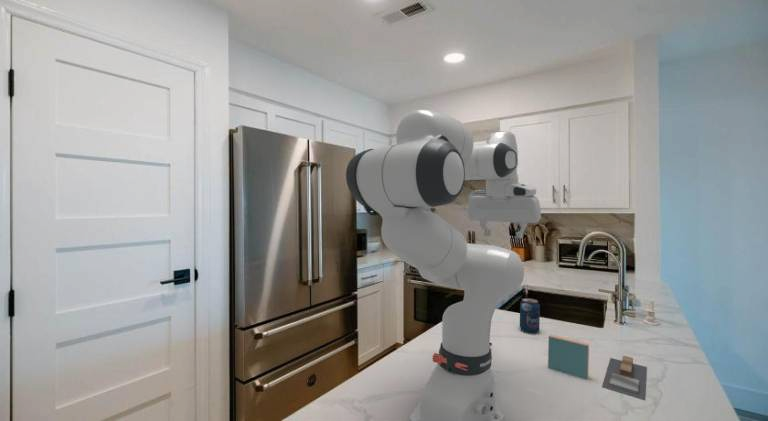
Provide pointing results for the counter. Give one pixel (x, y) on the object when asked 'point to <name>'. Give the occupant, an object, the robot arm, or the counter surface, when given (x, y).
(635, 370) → the mat
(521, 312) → the soda can
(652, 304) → the chess piece
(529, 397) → the counter surface
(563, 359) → the tile
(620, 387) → the grey panel with knob
